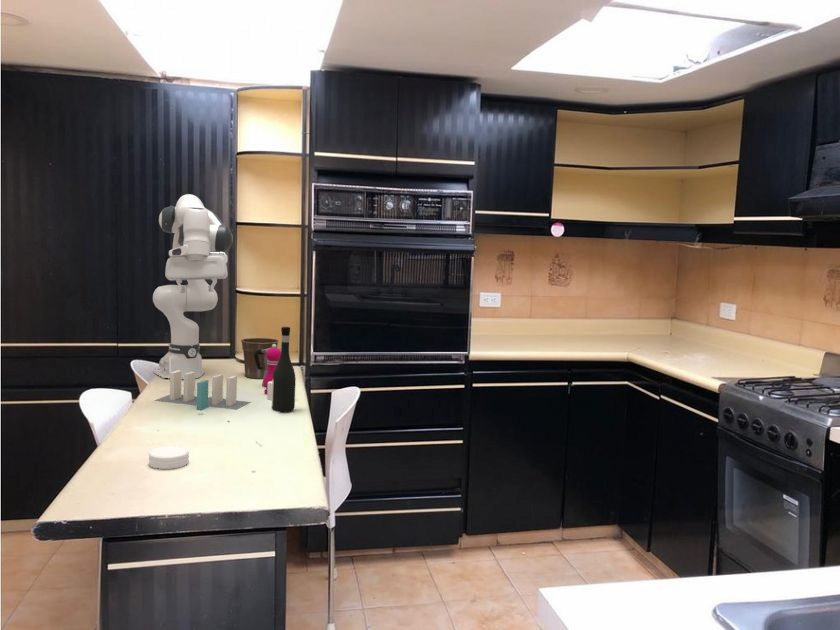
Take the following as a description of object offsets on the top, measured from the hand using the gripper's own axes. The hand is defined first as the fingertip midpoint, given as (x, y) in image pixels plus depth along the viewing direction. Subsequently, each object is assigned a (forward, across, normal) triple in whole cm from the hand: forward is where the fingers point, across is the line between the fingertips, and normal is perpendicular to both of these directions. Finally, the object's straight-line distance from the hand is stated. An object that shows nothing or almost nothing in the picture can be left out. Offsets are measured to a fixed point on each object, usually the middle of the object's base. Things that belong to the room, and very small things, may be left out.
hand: (196, 292), depth 227 cm
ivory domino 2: (+35, +8, -24) cm, 43 cm away
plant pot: (+24, -11, -71) cm, 76 cm away
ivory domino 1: (+34, +13, -25) cm, 45 cm away
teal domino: (+39, +1, -13) cm, 41 cm away
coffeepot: (+30, -18, -52) cm, 63 cm away
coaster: (+56, -2, +41) cm, 69 cm away
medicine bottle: (+37, -24, -29) cm, 53 cm away
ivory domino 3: (+37, -2, -21) cm, 43 cm away
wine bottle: (+41, -26, -16) cm, 51 cm away
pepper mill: (+34, -20, -39) cm, 55 cm away
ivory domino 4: (+38, -8, -20) cm, 43 cm away
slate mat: (+36, +3, -23) cm, 43 cm away
